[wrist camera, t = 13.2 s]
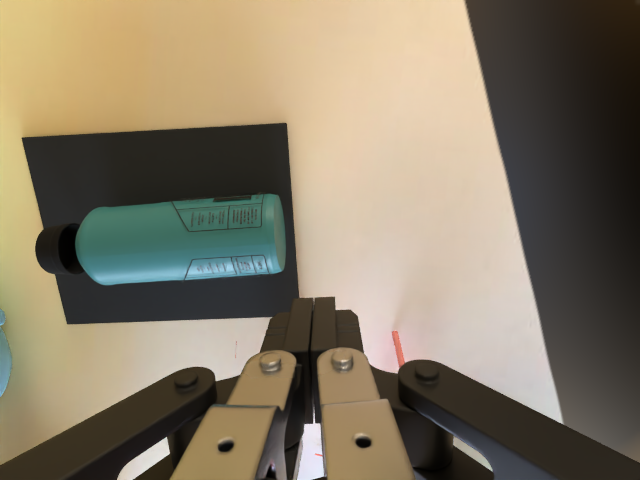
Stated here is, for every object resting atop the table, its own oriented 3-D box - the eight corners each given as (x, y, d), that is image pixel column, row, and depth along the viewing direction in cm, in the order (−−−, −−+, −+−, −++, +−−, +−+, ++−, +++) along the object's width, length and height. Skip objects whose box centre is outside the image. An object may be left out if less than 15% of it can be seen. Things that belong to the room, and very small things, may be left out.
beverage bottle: (292, 180, 27) (17, 199, 27) (296, 274, 26) (14, 291, 27) (301, 200, 33) (79, 215, 34) (305, 276, 32) (77, 290, 33)
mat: (69, 322, 36) (66, 324, 36) (25, 137, 32) (21, 137, 31) (300, 314, 35) (299, 316, 35) (286, 123, 31) (286, 123, 30)
